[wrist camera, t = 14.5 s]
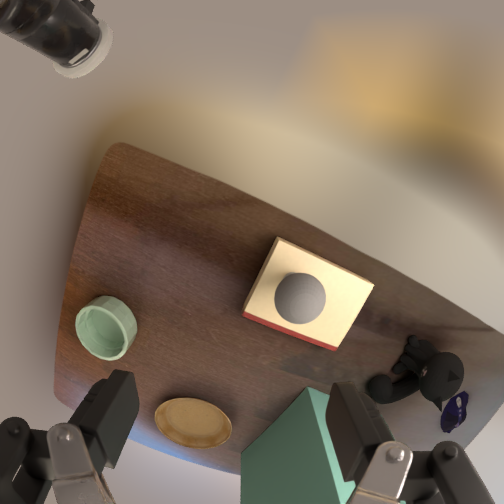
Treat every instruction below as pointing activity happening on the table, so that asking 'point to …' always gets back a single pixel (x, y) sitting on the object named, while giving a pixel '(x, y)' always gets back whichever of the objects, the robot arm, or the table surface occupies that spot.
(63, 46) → the robot arm
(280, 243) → the book
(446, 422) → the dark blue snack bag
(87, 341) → the bowl
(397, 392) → the figurine
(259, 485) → the box
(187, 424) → the plant saucer
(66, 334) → the table surface
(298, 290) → the light bulb
